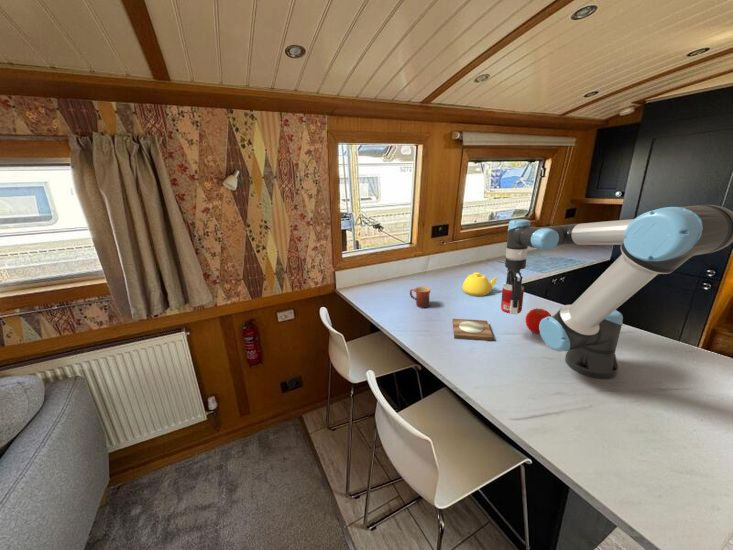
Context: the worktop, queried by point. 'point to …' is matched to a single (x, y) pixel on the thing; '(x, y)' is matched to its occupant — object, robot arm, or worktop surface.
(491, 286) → the teapot
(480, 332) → the board
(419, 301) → the mug
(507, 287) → the canned food
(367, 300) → the worktop surface
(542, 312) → the tomato
